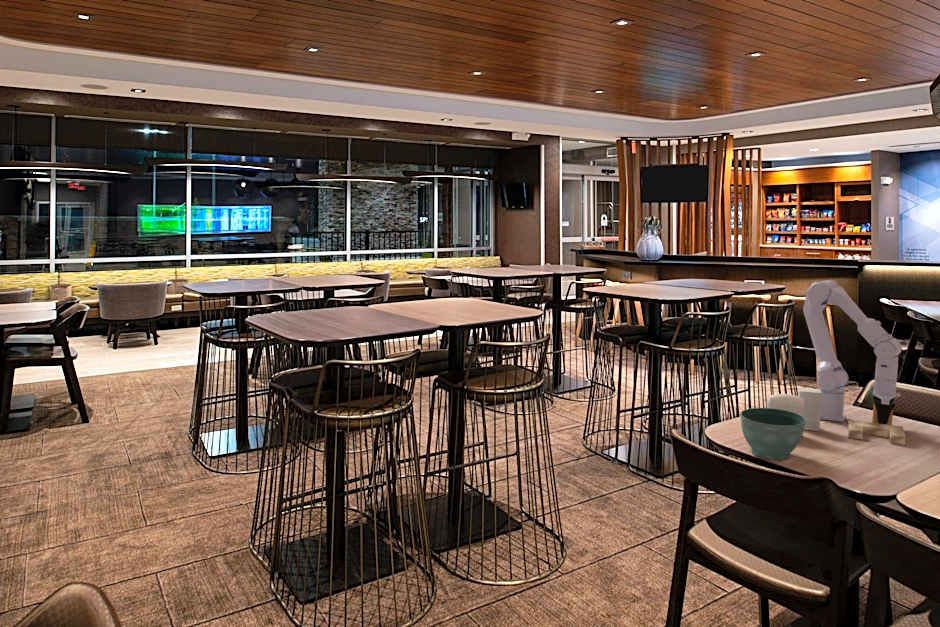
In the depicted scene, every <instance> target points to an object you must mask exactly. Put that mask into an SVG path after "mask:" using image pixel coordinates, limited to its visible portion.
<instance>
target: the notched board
mask: <svg viewBox="0 0 940 627" xmlns="http://www.w3.org/2000/svg"><path fill="white" fill-rule="evenodd" d="M847 432H848V439H852V440H859V439H861V440H860V441H863V436H864V435H865V434H869V435H868V436H873V435H875V436H874V437H881V436H884V437H883V438H889V442H890V444H891V443H894V444H893V445H898V444H902V445H901V446H906V438H907V437H906V433H905V430H904V427H903V425H902V426H901V425H894V424H892V425H887V424H878V423H872V422H868V421H862V420H851V419H848V424H847Z"/></svg>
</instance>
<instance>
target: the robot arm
mask: <svg viewBox="0 0 940 627" xmlns="http://www.w3.org/2000/svg"><path fill="white" fill-rule="evenodd" d="M805 296H806V297H805V298H804V299H805V300H804V304H803V307H802V310H803V311H802V312H803V315H804V317H805V318H804V319H805V321H806V325H807V328H808V331H809V335H810V339H811V342H812V345H813V349H814V351H815V356H816V360H817V362H818V365H817V368H816V372H817V380H816V382H817V386H818V387H819V388H814V389H815V390H820V392H821V393H822V395H821V411H820V420H823V421H834V422H840V423H841V422H842V423H843V422H845V414H844V410H845V409H844V407H845V406H844V405H845V392H846V389H845V386H847V384H848V382H849V380H850V379H849V374H848V373H847V371H846V370H845V369H844V367H843V366H842V363H841V362H840V360H838V358H837V355H836V352H835V349H834V345H833V343H832V339H831V336H830V332H829V329H828V326H827V323H826V319H825V316H824V313H823V311H824V310H825V308H826V307H827V306H828V305H829V304H830V305H834V306H838V307H839V308H840V309H841V310H843V312H844V313H845V314H846V315H847V316H848V317H849V318H850V319H851V320H852V321H854V322H855V324H856V325H857V332H858V333H859V334H860V335H861V336H862V337H863V338H864V339H865V340H866V342H867V343H868V344H869V345H870V346H871V347H872V348H873V353H874V355H875V356H876V362H875V370H874V371H875V372H874V382H873V391H872V399H873V405H874V404H875V407H876V410H877V417H878V423H879V424H887V423H888V420H889V416H890V414H891V411H892V410H893V411H894V408H895V407H896V403H893V402H894V400H895V398H899V397H901V394H900V393H899V392H897V379H898V371H899V370H898V369H899V355H900V354H901V353H902V350H903V346H902V344H901V342H900V340H899V339H897V338H895V337H893V335H892V334H891V333H890V334H889V333H888V332H887V331H886V330H885V329H884V328H883V327H882V326H881V325H882V323H881V322H880V320H876V319H874V318H869V317H868V316H867V315H865V313H864V312H863V311H862V310H861V309H860V307H859V306H858V305H857V304H856V303H855V302H854V300H853V299H852V298H851V297H850V296H849V294H848V293H847V292H846V290H845V289H844V288H843V287H842V286H840V284H838V282H837V281H835V280H833V279H826V280H823V281H815V282H813V283H811V284H810V285H809V287H808V288H807V289H806V291H805Z"/></svg>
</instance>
